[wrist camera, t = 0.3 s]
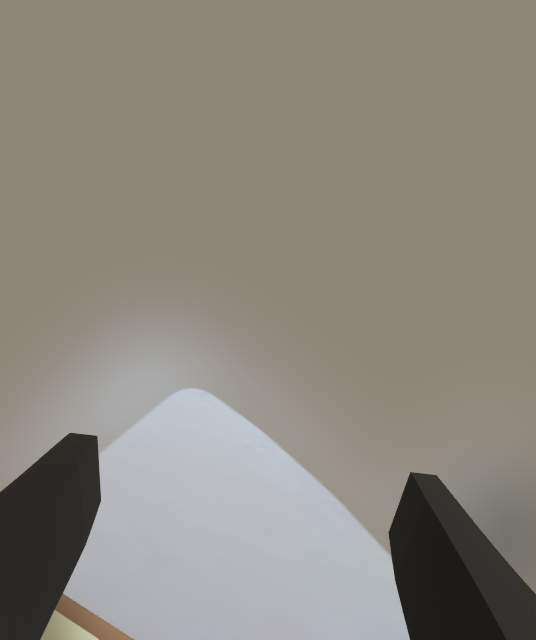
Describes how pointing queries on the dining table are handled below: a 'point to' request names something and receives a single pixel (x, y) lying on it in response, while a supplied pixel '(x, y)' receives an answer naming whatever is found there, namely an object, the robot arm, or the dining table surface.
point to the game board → (79, 624)
